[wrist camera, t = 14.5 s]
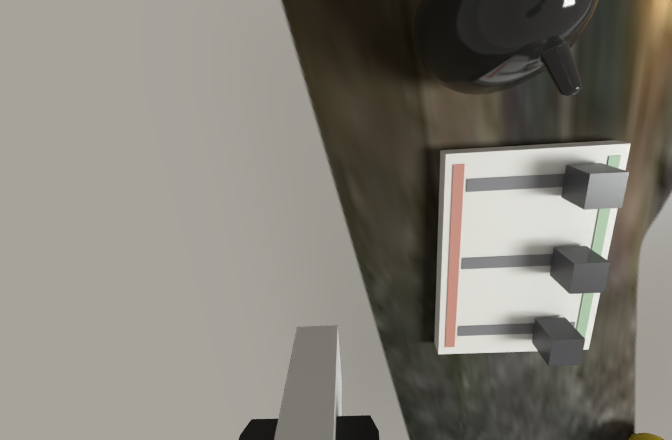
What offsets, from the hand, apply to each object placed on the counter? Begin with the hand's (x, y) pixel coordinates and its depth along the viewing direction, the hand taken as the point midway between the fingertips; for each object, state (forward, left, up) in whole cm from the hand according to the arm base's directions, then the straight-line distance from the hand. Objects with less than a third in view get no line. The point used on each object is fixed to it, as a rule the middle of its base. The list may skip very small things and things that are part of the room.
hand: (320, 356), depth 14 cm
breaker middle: (+8, +22, -22) cm, 32 cm away
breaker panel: (+8, +18, -24) cm, 31 cm away
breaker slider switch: (+16, +21, -22) cm, 34 cm away
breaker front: (0, +22, -22) cm, 31 cm away
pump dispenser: (-13, +12, -25) cm, 30 cm away
